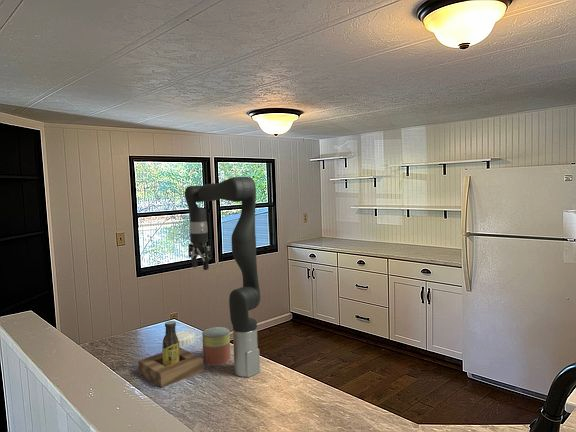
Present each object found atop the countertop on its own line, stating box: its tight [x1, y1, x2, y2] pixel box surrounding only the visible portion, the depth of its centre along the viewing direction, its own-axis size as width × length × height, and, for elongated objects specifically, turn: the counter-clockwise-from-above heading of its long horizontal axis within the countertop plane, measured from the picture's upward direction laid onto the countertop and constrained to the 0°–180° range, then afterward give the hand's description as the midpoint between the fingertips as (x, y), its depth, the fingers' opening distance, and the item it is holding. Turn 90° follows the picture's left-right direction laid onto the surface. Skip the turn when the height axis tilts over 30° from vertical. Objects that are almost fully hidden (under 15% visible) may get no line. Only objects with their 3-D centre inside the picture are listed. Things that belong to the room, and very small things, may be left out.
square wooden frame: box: [137, 347, 204, 388], centre depth 167 cm, size 18×18×5 cm
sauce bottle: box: [162, 320, 179, 367], centre depth 166 cm, size 6×6×20 cm
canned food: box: [201, 326, 231, 367], centre depth 178 cm, size 11×11×12 cm
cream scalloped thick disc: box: [176, 330, 196, 348], centre depth 199 cm, size 12×12×4 cm
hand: (200, 268), depth 187 cm, fingers open, 8 cm apart
